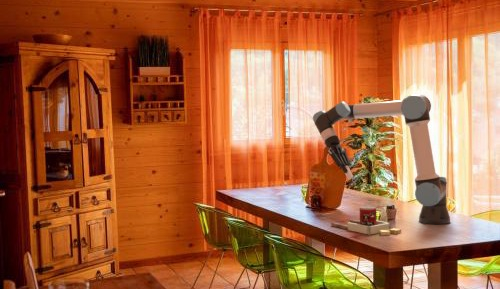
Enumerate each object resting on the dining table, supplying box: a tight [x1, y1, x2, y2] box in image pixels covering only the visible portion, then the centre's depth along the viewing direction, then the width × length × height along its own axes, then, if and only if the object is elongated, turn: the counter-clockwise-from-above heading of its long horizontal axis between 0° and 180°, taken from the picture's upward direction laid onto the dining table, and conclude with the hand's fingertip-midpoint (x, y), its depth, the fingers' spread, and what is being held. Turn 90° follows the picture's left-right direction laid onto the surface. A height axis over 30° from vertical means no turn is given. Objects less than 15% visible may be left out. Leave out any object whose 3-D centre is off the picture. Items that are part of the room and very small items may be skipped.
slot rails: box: [330, 219, 360, 231], centre depth 300 cm, size 12×14×2 cm
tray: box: [347, 219, 392, 235], centre depth 288 cm, size 14×14×4 cm
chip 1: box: [379, 230, 391, 236], centre depth 279 cm, size 4×4×2 cm
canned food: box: [359, 205, 377, 226], centre depth 289 cm, size 8×8×11 cm
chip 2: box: [389, 227, 402, 235], centre depth 281 cm, size 4×4×2 cm
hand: (350, 178), depth 302 cm, fingers closed
